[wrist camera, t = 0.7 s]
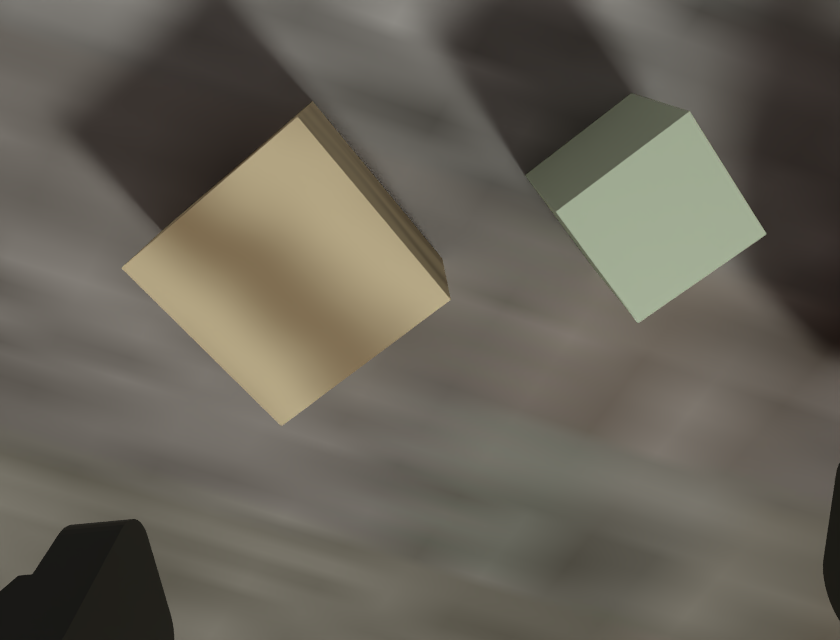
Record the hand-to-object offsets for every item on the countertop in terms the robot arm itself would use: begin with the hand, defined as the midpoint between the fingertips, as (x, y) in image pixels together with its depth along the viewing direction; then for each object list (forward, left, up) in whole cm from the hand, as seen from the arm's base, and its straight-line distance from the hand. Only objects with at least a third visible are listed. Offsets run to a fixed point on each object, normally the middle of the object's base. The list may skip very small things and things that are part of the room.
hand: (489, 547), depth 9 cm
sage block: (-6, +5, -22) cm, 24 cm away
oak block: (+5, -1, -22) cm, 23 cm away
